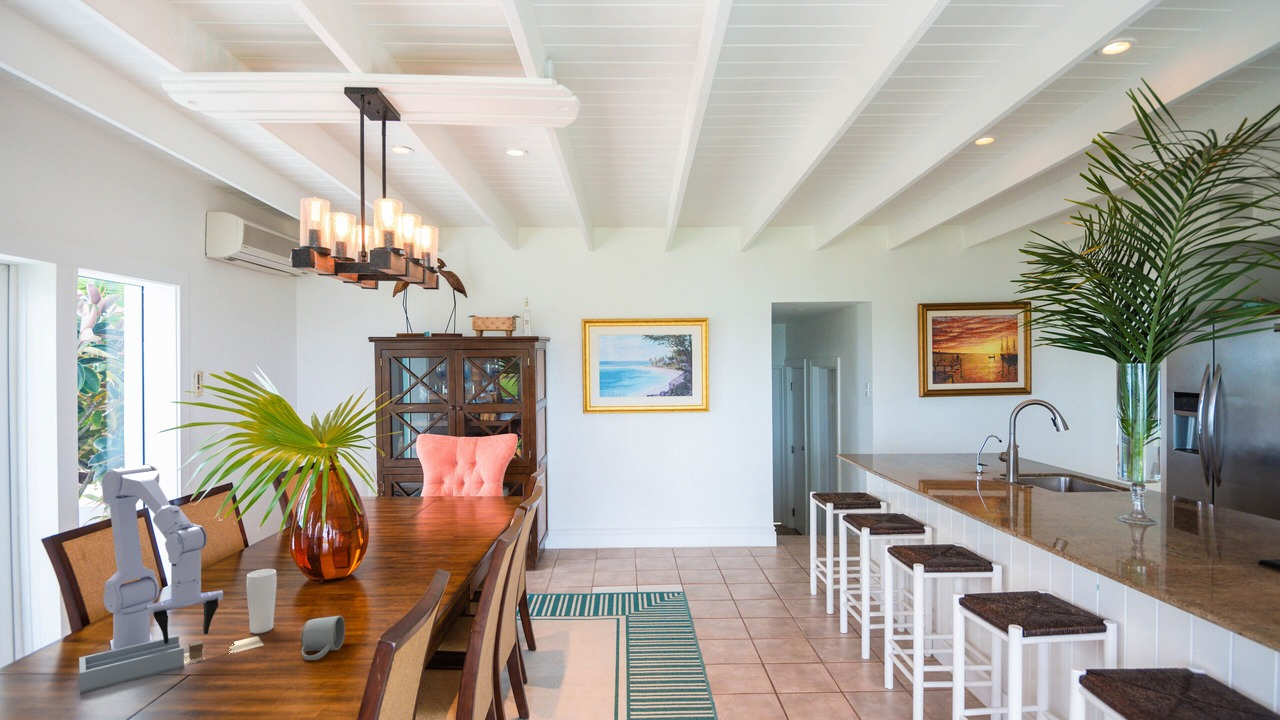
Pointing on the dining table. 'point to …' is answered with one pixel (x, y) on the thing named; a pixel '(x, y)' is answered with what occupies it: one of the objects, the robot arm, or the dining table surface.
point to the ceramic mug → (322, 636)
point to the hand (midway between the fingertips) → (186, 637)
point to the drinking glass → (261, 599)
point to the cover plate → (240, 645)
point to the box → (129, 664)
